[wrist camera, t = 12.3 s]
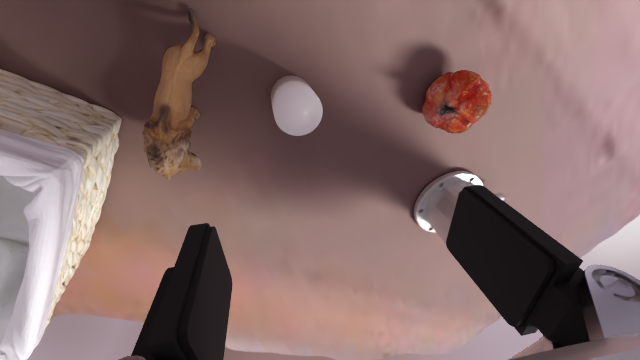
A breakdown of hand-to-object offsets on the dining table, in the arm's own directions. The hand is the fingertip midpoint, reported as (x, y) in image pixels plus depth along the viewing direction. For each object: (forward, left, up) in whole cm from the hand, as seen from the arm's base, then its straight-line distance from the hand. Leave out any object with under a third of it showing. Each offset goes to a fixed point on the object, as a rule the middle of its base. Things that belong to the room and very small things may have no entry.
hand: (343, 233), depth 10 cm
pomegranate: (-21, +3, -25) cm, 33 cm away
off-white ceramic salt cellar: (-1, +1, -25) cm, 25 cm away
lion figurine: (+10, -1, -25) cm, 27 cm away
